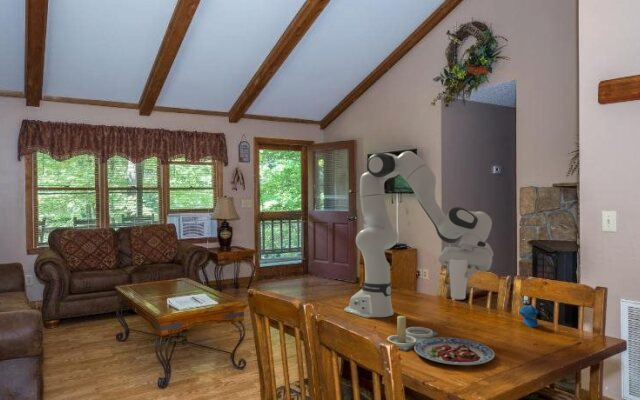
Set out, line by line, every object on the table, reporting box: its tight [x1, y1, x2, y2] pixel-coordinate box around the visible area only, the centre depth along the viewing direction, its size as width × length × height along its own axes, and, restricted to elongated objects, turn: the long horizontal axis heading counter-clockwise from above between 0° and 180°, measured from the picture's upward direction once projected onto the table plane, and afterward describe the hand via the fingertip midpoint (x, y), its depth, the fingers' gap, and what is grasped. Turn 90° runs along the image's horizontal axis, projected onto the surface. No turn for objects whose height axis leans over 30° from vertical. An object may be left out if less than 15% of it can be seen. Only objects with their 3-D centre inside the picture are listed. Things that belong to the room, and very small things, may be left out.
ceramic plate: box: [413, 336, 495, 366], centre depth 156 cm, size 26×26×3 cm
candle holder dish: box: [386, 315, 439, 352], centre depth 172 cm, size 10×24×10 cm, turn 140°
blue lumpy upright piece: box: [518, 304, 539, 328], centre depth 190 cm, size 7×9×12 cm
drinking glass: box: [449, 258, 469, 300], centre depth 177 cm, size 7×7×15 cm
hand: (457, 275), depth 176 cm, fingers closed on drinking glass, 6 cm apart
